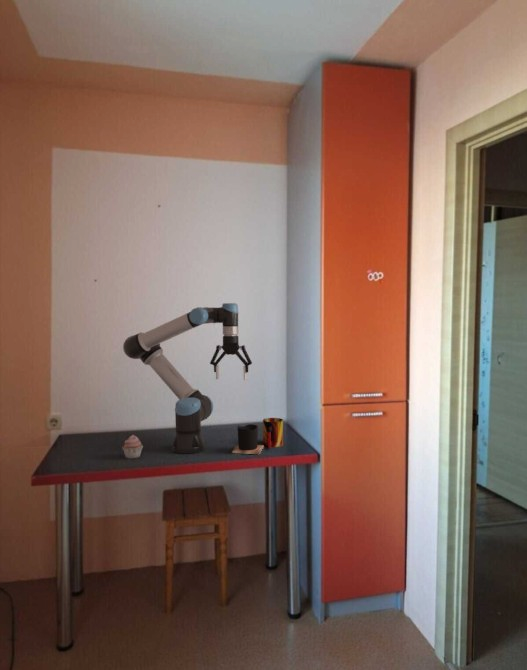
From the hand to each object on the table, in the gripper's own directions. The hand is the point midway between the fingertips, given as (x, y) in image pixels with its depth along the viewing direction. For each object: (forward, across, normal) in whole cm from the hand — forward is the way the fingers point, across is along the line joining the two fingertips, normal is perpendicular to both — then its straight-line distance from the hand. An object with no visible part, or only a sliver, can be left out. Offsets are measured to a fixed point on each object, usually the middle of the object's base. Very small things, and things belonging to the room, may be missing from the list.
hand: (231, 379), depth 243 cm
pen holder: (+30, +10, -11) cm, 34 cm away
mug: (+32, +21, 0) cm, 38 cm away
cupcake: (+32, -39, -27) cm, 57 cm away
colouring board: (+32, +10, -10) cm, 35 cm away
